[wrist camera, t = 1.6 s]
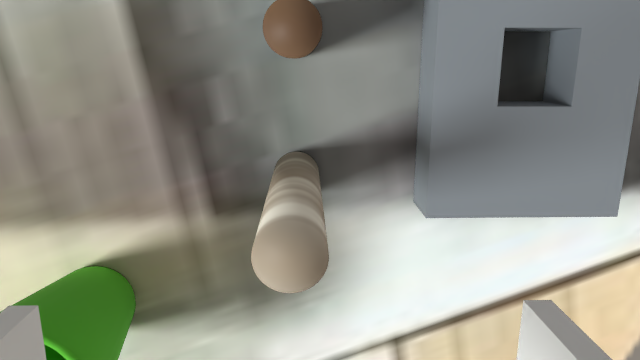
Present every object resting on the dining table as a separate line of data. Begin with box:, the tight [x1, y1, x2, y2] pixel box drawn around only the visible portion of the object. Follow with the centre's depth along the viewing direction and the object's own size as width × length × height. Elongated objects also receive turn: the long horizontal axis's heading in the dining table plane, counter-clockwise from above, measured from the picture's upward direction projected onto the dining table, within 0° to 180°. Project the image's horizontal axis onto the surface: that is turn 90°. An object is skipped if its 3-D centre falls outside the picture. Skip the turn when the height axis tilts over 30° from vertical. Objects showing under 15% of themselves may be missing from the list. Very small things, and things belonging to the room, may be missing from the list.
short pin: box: [263, 0, 322, 58], centre depth 27 cm, size 3×3×6 cm
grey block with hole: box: [413, 0, 640, 218], centre depth 29 cm, size 18×12×4 cm, turn 0°
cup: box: [0, 266, 136, 360], centre depth 28 cm, size 9×9×11 cm
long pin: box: [251, 152, 329, 293], centre depth 25 cm, size 3×3×14 cm
